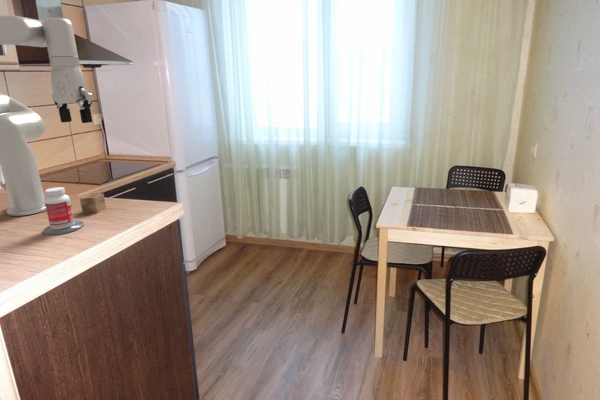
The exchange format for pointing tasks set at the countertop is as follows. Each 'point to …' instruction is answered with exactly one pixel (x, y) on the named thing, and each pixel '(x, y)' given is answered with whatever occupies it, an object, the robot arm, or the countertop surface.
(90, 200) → the light brown wooden block
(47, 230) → the coaster
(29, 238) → the countertop surface
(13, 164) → the robot arm
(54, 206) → the pill bottle
